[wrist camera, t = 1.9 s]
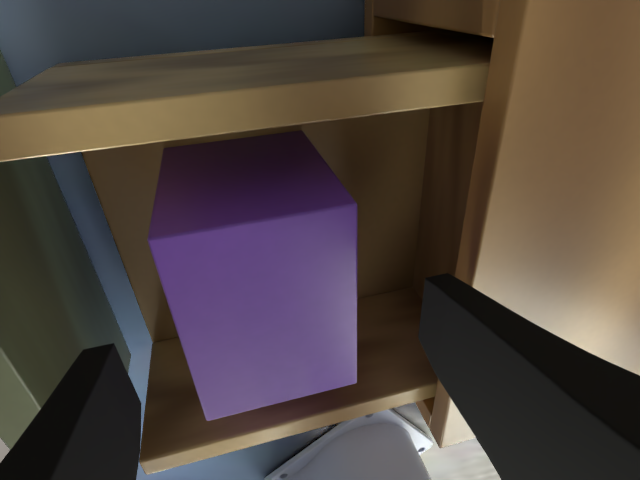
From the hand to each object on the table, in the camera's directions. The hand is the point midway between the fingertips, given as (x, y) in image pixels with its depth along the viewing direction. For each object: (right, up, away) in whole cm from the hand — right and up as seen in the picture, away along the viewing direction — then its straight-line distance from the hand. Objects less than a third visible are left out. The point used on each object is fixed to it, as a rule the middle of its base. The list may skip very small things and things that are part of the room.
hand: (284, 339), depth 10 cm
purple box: (-2, +3, +5) cm, 6 cm away
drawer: (-4, +3, +5) cm, 7 cm away
